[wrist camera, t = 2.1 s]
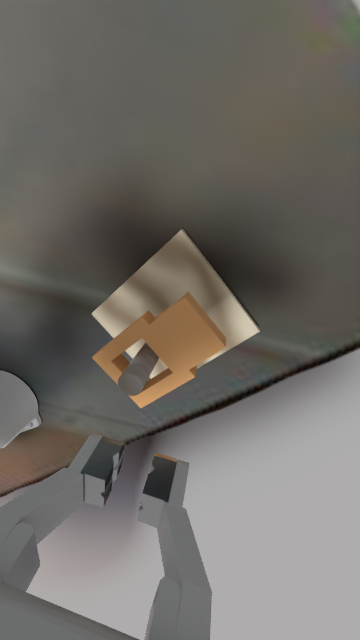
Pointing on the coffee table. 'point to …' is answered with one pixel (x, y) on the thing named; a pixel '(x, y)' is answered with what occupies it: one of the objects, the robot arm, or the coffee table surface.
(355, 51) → the coffee table surface
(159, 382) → the collar
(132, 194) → the coffee table surface
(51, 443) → the coffee table surface
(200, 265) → the pipe stand
